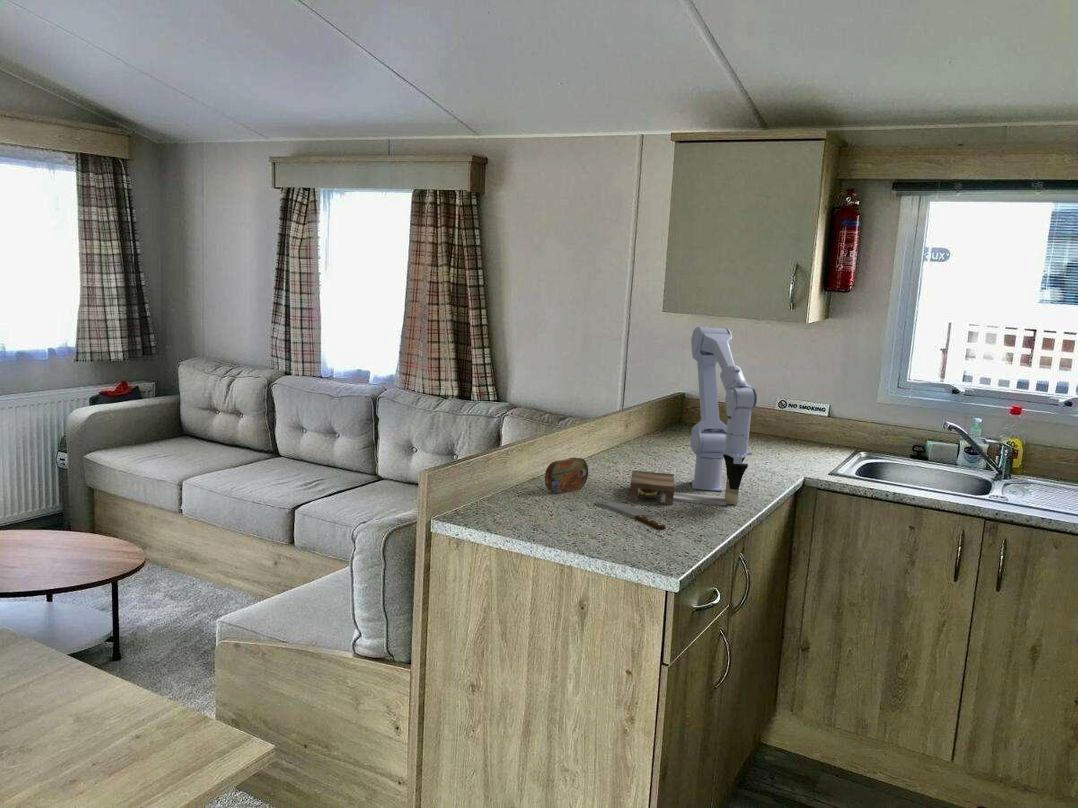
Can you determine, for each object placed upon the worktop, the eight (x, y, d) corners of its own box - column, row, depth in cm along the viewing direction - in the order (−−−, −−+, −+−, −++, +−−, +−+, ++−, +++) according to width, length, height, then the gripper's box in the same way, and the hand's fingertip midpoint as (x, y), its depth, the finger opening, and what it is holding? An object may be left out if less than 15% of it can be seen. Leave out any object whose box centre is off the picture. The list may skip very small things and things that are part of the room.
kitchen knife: (686, 524, 208) (653, 527, 203) (686, 529, 208) (652, 531, 203) (624, 499, 228) (592, 500, 223) (624, 503, 228) (591, 504, 223)
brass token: (638, 493, 237) (638, 485, 236) (657, 494, 236) (657, 487, 236) (637, 497, 232) (638, 490, 232) (656, 499, 231) (657, 492, 231)
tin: (550, 496, 228) (552, 463, 226) (541, 493, 230) (543, 461, 229) (588, 487, 239) (590, 456, 237) (579, 485, 241) (581, 454, 240)
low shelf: (631, 487, 241) (632, 470, 241) (672, 491, 240) (673, 474, 239) (629, 500, 228) (630, 482, 227) (672, 504, 226) (674, 486, 226)
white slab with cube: (672, 495, 236) (674, 473, 235) (735, 500, 234) (738, 478, 233) (672, 501, 230) (674, 478, 229) (737, 506, 228) (739, 484, 227)
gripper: (756, 440, 221) (751, 493, 223) (750, 430, 235) (746, 480, 237) (727, 438, 222) (722, 491, 224) (723, 428, 236) (719, 478, 238)
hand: (732, 485), depth 230 cm, fingers open, 7 cm apart
